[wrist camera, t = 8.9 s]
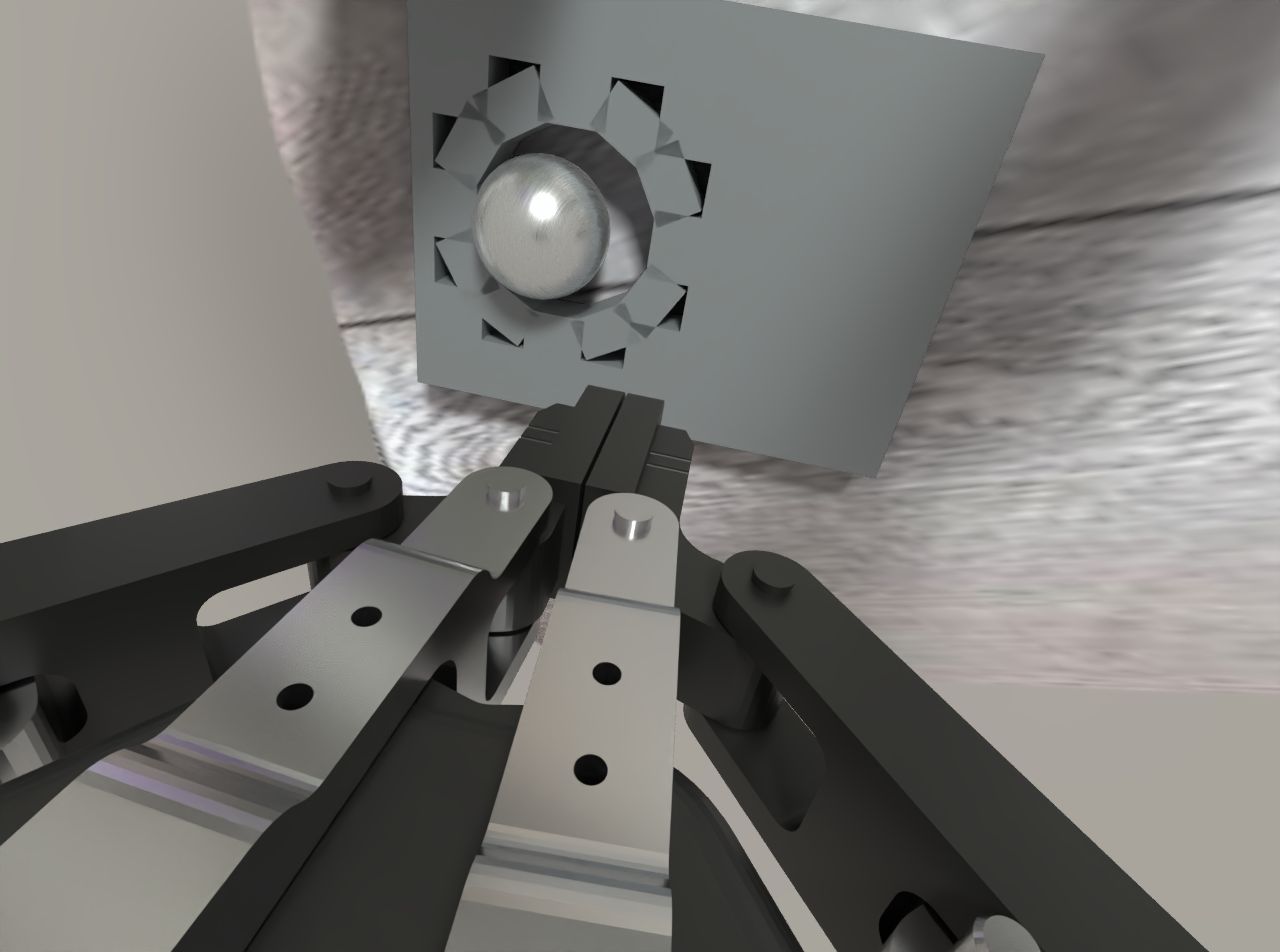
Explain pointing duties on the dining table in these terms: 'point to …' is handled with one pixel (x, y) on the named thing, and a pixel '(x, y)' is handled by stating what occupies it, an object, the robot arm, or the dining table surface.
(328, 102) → the dining table surface
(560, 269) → the ball
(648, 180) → the grey gear-hole plate
